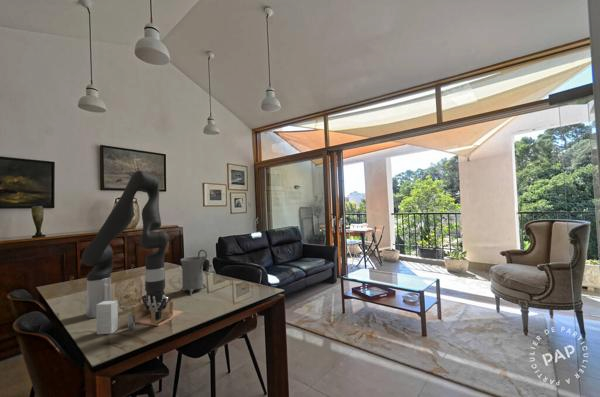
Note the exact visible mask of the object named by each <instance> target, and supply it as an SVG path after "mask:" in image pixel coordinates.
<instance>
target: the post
mask: <svg viewBox="0 0 600 397" xmlns="http://www.w3.org/2000/svg"><path fill="white" fill-rule="evenodd" d="M127 329H128V330H127V331H133V330H135V329H136V323H135V314H131V313H130V314H128V315H127Z"/></svg>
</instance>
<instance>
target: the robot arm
mask: <svg viewBox="0 0 600 397" xmlns="http://www.w3.org/2000/svg"><path fill="white" fill-rule="evenodd" d="M139 191H140V192H142V193H146V194H147V196H148V200H147V201H146V203H145V204H144V206H143V207H142V211H141V218H142V220H141V222H142V232H141V236H140V242H139V243H140V246H141V248H143V249H144V250H152V249H158V250H156V251H155V252H152V253H150V254H147V255H146V256H145V273H144V291H145V292H146V294H144V295H142V296H141V300H142V302H143V303H144V305H145V308H146V309H149V311H150V318H151V309H152V308H154V307H155V311H156V312H155V319H156V321H158V320H160V319H161V311H162V310H163V309H165V308H166V306H167V303H168V301H170V298H171V297H170V296H167V295H165V288H166V270H165V255H166V250H167V247H168V243H169V235H168V234H169V233H167V232H166V231H156V230H158V229H160V228H161V226H162V220H161V214H160V179H159V177H158V176H156V175H154V174H152V173H149V172H145V171H144V170H136V171H135V172H134V173H133V174H132V176H131V177H130V179H129V181H128V183H127V185H126V186H125V188H124V190H123V193H122V194H121V196H120V198H119V199H118V201H117V203H116V204H115V206H114V207H113V209H112V210H111V211H110V213H109V215H108V217H107V218H106V219H105V221H104V223H103V225H102V226H101V227H100V229H99V231H98V232H97V233H96V234H95V236H94V238H93V239H92V240H91V241H90V243H89V244H88V245H87V246H86V248H84V251H83V252H82V255H81V260H82V263H83V265H85V266H88V267H92V266H94V267H93V268H92V270H90V271H89V272H88V273H87V275H86V296H85V316H86V317H87V318H89V319H95V318H96V319H97V312H96V305H97V304H99V303H101V302H103V301H112V277H111V275H112V272H113V269H114V251H113V248H112V247H111V245H110V243H111V242H113V241H114V240H115V239H116V238H117V237H119V236H120V235H121V234H122V233H123V232H124V231H125V230H126V229H127V228H128V227H129V225H130V223H131V222H132V221H133V218H134V216H135V208H134V198H135V196H136V195H137V192H139ZM147 303H148V304H147ZM148 305H149V306H148ZM158 306H159V308H158Z"/></svg>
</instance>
